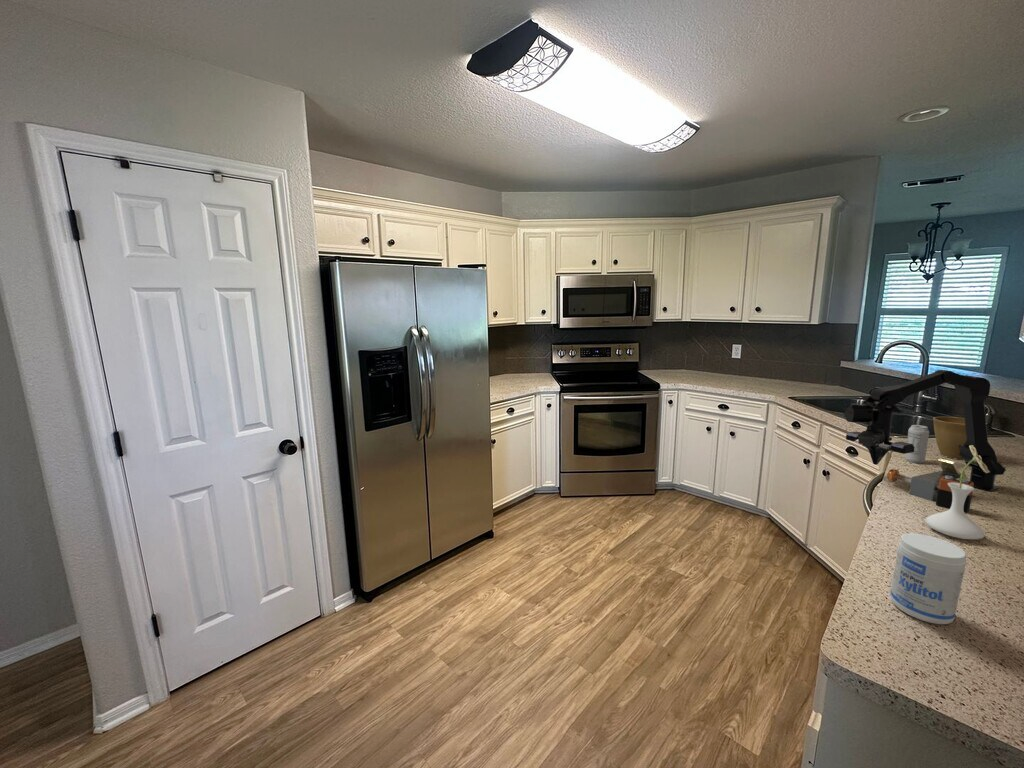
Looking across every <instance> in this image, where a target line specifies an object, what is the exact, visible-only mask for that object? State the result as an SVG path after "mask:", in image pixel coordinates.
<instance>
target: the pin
mask: <svg viewBox="0 0 1024 768" xmlns="http://www.w3.org/2000/svg"><path fill="white" fill-rule="evenodd" d="M886 478H887V480H888V481H889V482H892V483H895V482H897V481H901V482H904V483H908V484H911V480H912V476H911V477H910V476H908V475H907V476H906V475H904V474H900V471H899V470H898V469H894V468H891V469H890V470H889V471H888V473H887V476H886ZM938 488H939V486H937V492H938Z"/></svg>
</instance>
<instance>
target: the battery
mask: <svg viewBox="0 0 1024 768" xmlns="http://www.w3.org/2000/svg"><path fill="white" fill-rule="evenodd" d="M948 483H960V481H959V480H956V478H953V477H952V476H948V475H946V476H943V477H942V478H941V479H940V481H939V488H938V494H937V500H935V501H936V502H935V505H936V506H937V505H938V507H941V508H944V507H945V509H948V508H951V505H952V499H953V495H952V490H951V488H950V487H949V485H948ZM962 484H965V485H968V486H971V487H973V486H974V483H973V482H970V479H969V480H963V481H962ZM973 488H974V487H973ZM973 492H974V490H973V491H971V492H970V493H969V494H968V495H967V497H966V499H965V502H964V508H963V509H964V512H965V514H966V513H968V512H969V510H970V508H971V503H972V497H973Z"/></svg>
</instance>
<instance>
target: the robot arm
mask: <svg viewBox="0 0 1024 768" xmlns="http://www.w3.org/2000/svg"><path fill="white" fill-rule="evenodd" d="M944 384H947V385H951V386H954V389H955V393H956V394H957V396H958V397H959V398H960V400H961V401H962V405H963V406H962V407H963V414H964V418H965V427H966V437H967V441H966V442H965V444H964V445H959V450H960V453H959V455H960V456H961V457H962V459H961V460H963V461H964V464H965V466H966V465H967V464H968V463H969V462H970V461H971V460H972V458H973V457H974V456H973V454H972V453H971V450H970V448H969V446H971V445H973V446H974V447H975V449H976V451H977V454H978V455H980V456H981V458H982V462H983V463H984V464H985V465H986V466H987V469H988V470H989V472H990V473H989V472H988V473H985V472H984V471H983V469H982V468H981V467H980V465H979V464H978V462H974V461H973V462H971V463H970V464H969V465H968V466H967V467H970V475H969V480H970V482H973V483H974V486H973V488H974V489H975V488H976V489H979V490H983V491H988V492H990V491H994V490H998V489H1000V488H999V486H995V482H996V481H995V480H996V476H998V475H999V476H1002V475H1004V474H1005V472H1006V471H1007V470H1006V468H1005V466H1003V465H1002V464H1001V463H1000V462H999V461H998V457H997V454H996V452H995V451H996V450H995V449H994V448H993V446H992V445H991V444H990V443H989V440H988V438H989V437H988V430H987V428H988V427H987V419H986V409H985V401H986V400H987V398H988V397H989V395H990V390H991V382H990V381H989V379H987V378H985V377H980V376H976V375H975V376H974V375H968V374H960V373H956V372H954V371H953V370H952V371H951V370H948V369H937V370H936V371H934V372H931V373H929V374H926V375H923V376H920V377H917V378H914V379H912V380H909V381H907V382H903V383H900V384H895V385H889V386H883V387H878V388H875V389H873V390H872V391H871V394H870V395H869V396H868V397H867V398H866V399H865V400H864V401H863V402H862V403H860V404H857V403H849V406H848V407H847V408H846V410H845V412H844V417H845V418H844V419H845V420H846V422H848V423H867V426H866V429H865V430H863V431H862V432H860V431H857V430H856V431H850V432H847V433H846V434H845V440H846V441H850V442H856V441H857V442H858V444H860V445H862V447H865V448H866V449H867V451H868V452H869V455H870V458H871V461H872V464H873V465H877V466H878V465H879V463H880V462H881V461H882V459H883V458H884V457H885V456H886V455H887V454H888V453H889V452H890V451H892V452H895V453H899V454H904V455H905V454H906V453H911V452H914V448H915V447H914V446H913V444H910V443H907V441H906V442H905V441H896V442H893V437H891V431H892V430H894V426H892V422H893V416H894V413H901V412H902V410H901V409H899V407H897V405H898V404H899V403H902V402H903V401H904V400H905V399H906V398H908V397H909V396H912V395H915V394H917V393H921V392H923V391H926V390H930V389H931V388H936V387H938V386H941V385H944ZM869 422H870V423H869ZM972 448H973V447H972Z"/></svg>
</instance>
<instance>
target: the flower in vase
mask: <svg viewBox="0 0 1024 768" xmlns="http://www.w3.org/2000/svg"><path fill="white" fill-rule="evenodd" d="M972 447H973V448H972ZM969 448H970V450H971V453H972V454H973V456H974V457H973V458H972V460H971V461H970V462H969V463H968V464H967V465H966V464H965V466H964V467H963V468H962V469H961V470H960V471H961V472H960V473H961V477H960V479H956V480H959V481H960V483H948V485H949V487H950V488H951V490H952V495H953V499H952V505H951V508H950V509H948V510H945V511H941V512H938V513H937V512H936V513H934V514H932V515H929V516H927V517H926V518H925V519H924V521H925V523H926V525H927V526H928V527H930V528H931V529H933V530H935V531H936V532H939V533H941V534H944V535H946V536H948V537H954V538H957V539H962V540H981V539H983V538H984V537H985V536H986V533H985V531H984V529H983V528H982V527H981V526H979V524H977V523H976V522H975V521H973V520H972V518H970V517H969V516H967V514H966V513H964V509H963V508H964V502H965V499H966V497H967V495H968V494H969V493H970V492H971V491H973V492H974V491H975V487H971V486H968V485H965V484H962V481H963V480H970V477H968V476H967V474H966V473H965V470H966V469H967V467H969V466H968V465H969V464H970V463H971V462H973V461H974V462H978V464H979V465H980V467H981V468H982V469H983V471H984V472H985V473H988V472H989V470H988V469H987V466H986V465H985V464H984V463H983V462H982V458H981V456H980V455H978V454H977V451H976V449H975V447H974V446H973V445H971V446H969ZM989 473H990V472H989ZM962 477H963V478H962Z"/></svg>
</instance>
